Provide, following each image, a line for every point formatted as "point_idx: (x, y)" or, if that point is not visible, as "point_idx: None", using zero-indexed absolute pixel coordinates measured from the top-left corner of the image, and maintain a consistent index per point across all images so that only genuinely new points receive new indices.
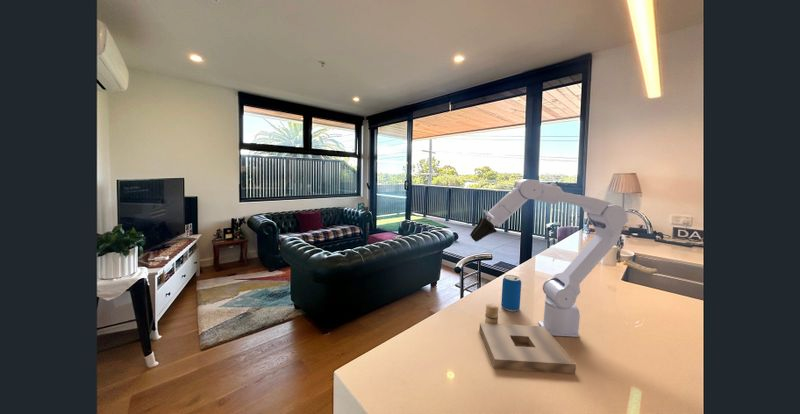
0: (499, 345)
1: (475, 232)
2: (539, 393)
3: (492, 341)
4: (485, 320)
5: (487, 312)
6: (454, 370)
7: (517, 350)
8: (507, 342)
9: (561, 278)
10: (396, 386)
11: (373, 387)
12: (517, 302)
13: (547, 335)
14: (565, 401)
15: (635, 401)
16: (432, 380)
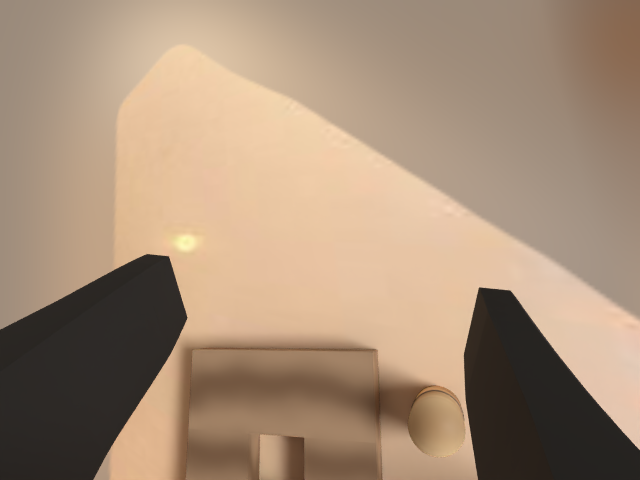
0: (248, 382)
1: (73, 300)
2: (140, 426)
3: (265, 366)
4: (434, 387)
5: (421, 397)
6: (197, 252)
7: (229, 430)
8: (264, 414)
9: None
10: (155, 141)
11: (153, 104)
12: None
13: None
14: (122, 474)
15: None
16: (170, 205)
